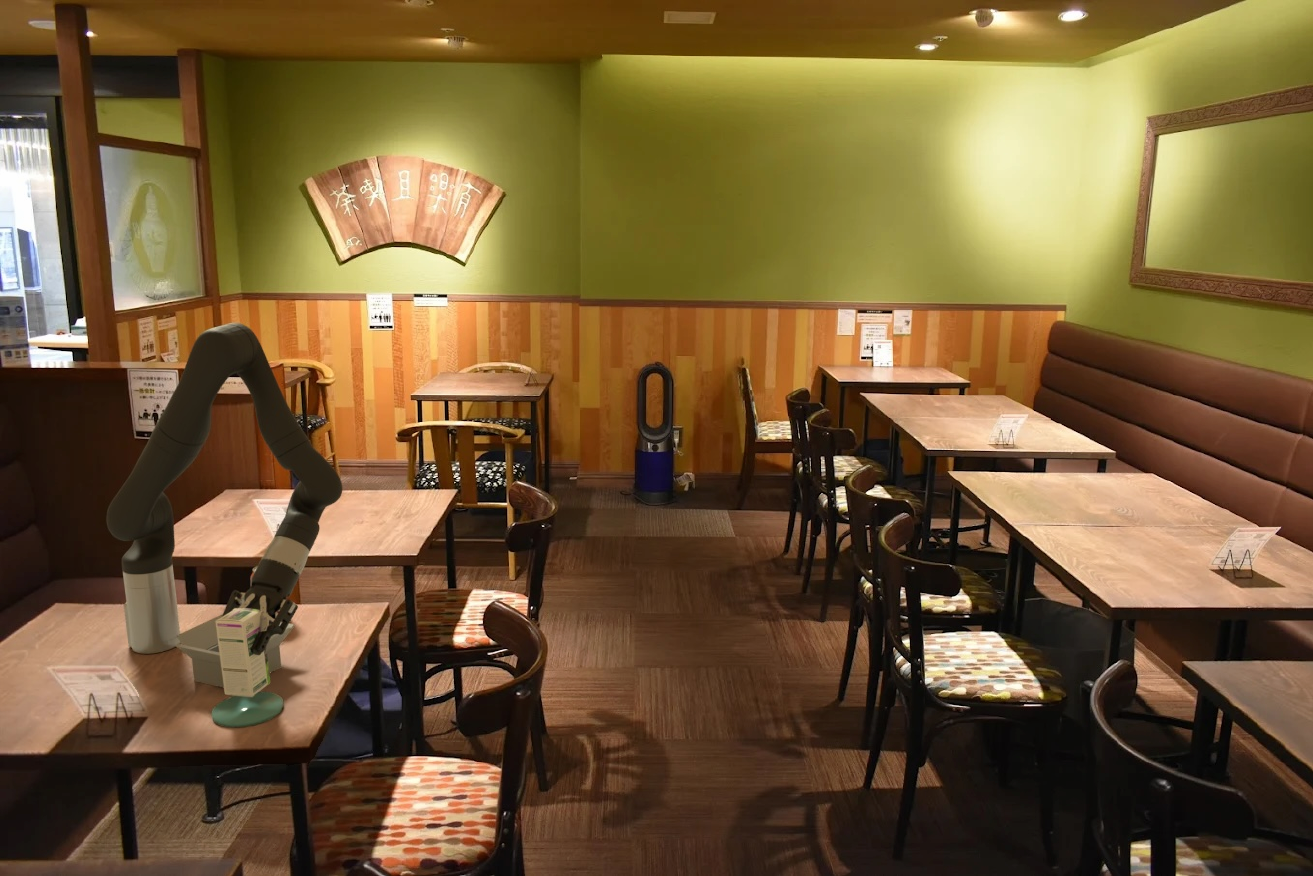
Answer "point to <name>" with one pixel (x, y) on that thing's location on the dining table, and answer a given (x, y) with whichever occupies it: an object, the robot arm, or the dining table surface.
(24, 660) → the dining table surface
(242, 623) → the syrup box
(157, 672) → the dining table surface
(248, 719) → the plate
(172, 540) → the robot arm
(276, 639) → the carton
